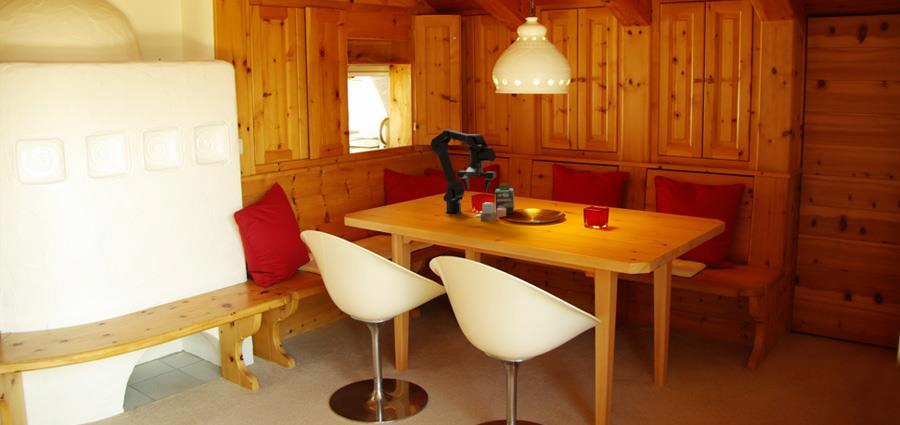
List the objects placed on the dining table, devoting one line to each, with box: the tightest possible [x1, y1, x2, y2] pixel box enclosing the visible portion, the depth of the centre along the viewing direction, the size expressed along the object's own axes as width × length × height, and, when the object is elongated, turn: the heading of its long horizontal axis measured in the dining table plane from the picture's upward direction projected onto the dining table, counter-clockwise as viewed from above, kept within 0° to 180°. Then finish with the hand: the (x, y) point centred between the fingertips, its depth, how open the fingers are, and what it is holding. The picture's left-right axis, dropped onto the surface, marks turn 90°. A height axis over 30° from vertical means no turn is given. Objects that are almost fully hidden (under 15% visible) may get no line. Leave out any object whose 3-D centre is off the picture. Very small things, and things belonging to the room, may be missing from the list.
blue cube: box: [481, 201, 496, 214], centre depth 420 cm, size 4×4×4 cm
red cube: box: [497, 208, 507, 218], centre depth 429 cm, size 4×4×4 cm
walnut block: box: [479, 211, 498, 223], centre depth 421 cm, size 6×6×4 cm
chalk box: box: [494, 183, 515, 213], centre depth 439 cm, size 9×9×15 cm
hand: (476, 192), depth 430 cm, fingers open, 9 cm apart
